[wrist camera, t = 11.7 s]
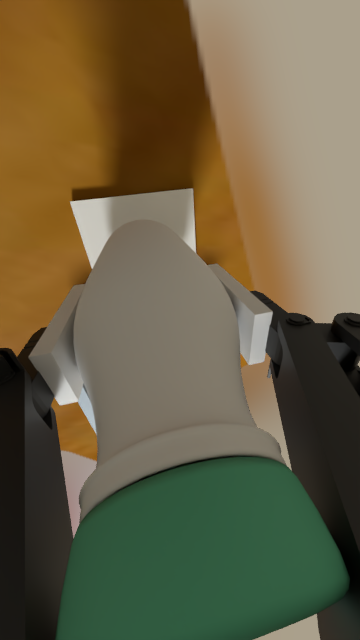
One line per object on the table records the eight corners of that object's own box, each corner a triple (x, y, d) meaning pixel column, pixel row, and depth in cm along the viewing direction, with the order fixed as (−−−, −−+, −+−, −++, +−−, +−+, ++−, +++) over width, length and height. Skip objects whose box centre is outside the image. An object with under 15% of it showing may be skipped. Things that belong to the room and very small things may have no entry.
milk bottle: (88, 230, 17) (-935, 1115, 1) (177, 208, 18) (813, 453, 1) (120, 307, 22) (78, 699, 5) (191, 288, 22) (372, 590, 5)
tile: (72, 201, 19) (69, 201, 18) (190, 188, 20) (192, 188, 19) (106, 307, 25) (105, 310, 24) (196, 292, 26) (198, 295, 25)
